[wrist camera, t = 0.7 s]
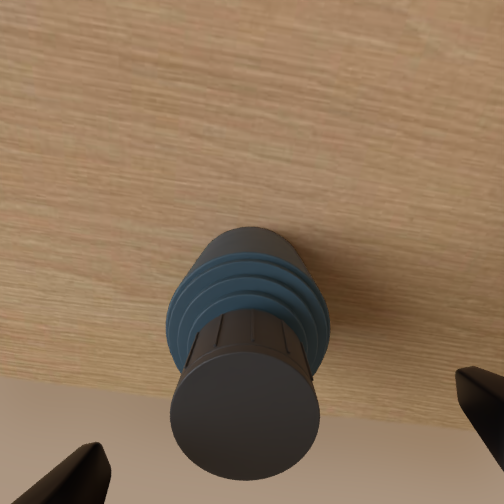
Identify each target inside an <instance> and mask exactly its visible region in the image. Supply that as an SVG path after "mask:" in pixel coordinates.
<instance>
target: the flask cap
mask: <svg viewBox="0 0 504 504" xmlns="http://www.w3.org/2000/svg"><path fill="white" fill-rule="evenodd" d="M312 381H313V376H312V373H311V370H310V366H309V363H308V360H307V356H306V353H305V350H304V347H303V343H302V342H300V341H299V339H298V337H297V335H296V334H295V333H294V331H293V330H292V329H291V328H290V327H289V326H288V325H287V324H286V323H285V322H284V321H283V320H281V319H279V318H277V317H275V316H273V315H271V314H269V313H266V312H262V311H257V310H254V309H252V310H236V311H231V312H228V313H225V314H220V316H218V317H216V318H214V319H213V320H211V321H210V322H209V323H207V324H206V325H205V326H204V327H203V328H202V329H201V330H200V332H197V334H196V336H195V339H194V342H193V344H192V347H191V349H190V352H189V355H188V357H187V360H186V363H185V365H184V368H183V371H182V374H181V376H180V379H179V382H178V384H177V387H176V390H175V392H174V395H173V399H172V402H171V408H170V422H171V428H172V431H173V435H174V437H175V439H176V442H177V444H178V445H179V447H180V448H181V450H182V451H183V453H184V454H185V455H186V456H187V457H188V458H189V459H190V460H191V461H192V462H193V463H195V464H196V465H197V466H199V467H200V468H202V469H203V470H205V471H207V472H209V473H211V474H214V475H217V476H219V477H223V478H227V479H232V480H243V481H249V480H259V479H265V478H268V477H272V476H275V475H277V474H279V473H282V472H284V471H286V470H287V469H289V468H291V467H292V466H293V465H295V464H296V463H297V462H299V461H300V460H301V459H302V458H303V457H304V455H305V454H306V453H307V452H308V451H309V449H310V448H311V446H312V444H313V442H314V440H315V438H316V435H317V432H318V428H319V422H320V409H319V404H318V400H317V396H316V393H315V389H314V386H313V382H312Z"/></svg>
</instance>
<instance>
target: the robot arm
mask: <svg viewBox="0 0 504 504" xmlns="http://www.w3.org/2000/svg"><path fill="white" fill-rule="evenodd" d="M455 379H456V388H457V397H458V402H459V404H460V407H461V409H462V410H463V412H464V413H465V415H466V416H467V418H468V419H469V421H470V422H471V424H472V425H473V427H474V428H475V430H476V431H477V433H478V434H479V436H480V437H481V439H482V440H483V442H484V443H485V445H486V446H487V448H488V449H489V451H490V452H491V454H492V455H493V457H494V458H495V460H496V461H497V463H498V464H499V466H500V467H501V469H502V470H503V471H504V377H503V376H500V375H497V374H495V373H492V372H489V371H486V370H484V369H481V368H478V367H475V366H470V367H465V368H461V369H458V370H456V372H455ZM110 479H111V466H110V464H109V461H108V459H107V456H106V454H105V451H104V449H103V447H102V445H101V444H100V443H99V442H94V443H89V444H84V445H82V446H81V447H79V448H78V449H77V450H76V451H75V452H73V453H72V454H71V455H70V456H68V457H67V458H66V459H65V460H64V461H62V462H61V463H60V464H59V465H57V466H56V467H55V468H54V469H53V470H52V471H50V472H49V473H48V474H47V475H45V476H44V477H43V478H42V479H41V480H39V481H38V482H37V483H36V484H34V485H33V486H32V487H31V488H30V489H28V490H27V491H26V492H25V493H24V494H22V495H21V496H20V497H19V498H17V499H16V500H15V501H14V502H13V503H11V504H104V502H105V498H106V494H107V490H108V487H109V483H110Z"/></svg>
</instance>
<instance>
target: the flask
mask: <svg viewBox="0 0 504 504" xmlns="http://www.w3.org/2000/svg"><path fill="white" fill-rule="evenodd" d="M252 309H254V310H257V311H262V312H266V313H269V314H271V315H273V316H275V317H277V318H279V319H281V320H283V321H284V322H285V323H286V324H287V325H288V326H289V327H290V328H291V329H292V330H293V331H294V333H295V334H296V335H297V337H298V339H299V341H300V342H302V343H303V347H304V350H305V353H306V356H307V360H308V363H309V366H310V370H311V373H312V376H313V375H314V374H315V373H316V371H317V369H318V368H319V366H320V364H321V362H322V360H323V358H324V355H325V353H326V350H327V347H328V343H329V338H330V318H329V312H328V308H327V305H326V302H325V300H324V298H323V296H322V294H321V292H320V290H319V288H318V287H317V285H316V283H315V282H314V280H313V278H312V277H311V275H310V273H309V272H308V270H307V268H306V267H305V265H304V263H303V262H302V260H301V258H300V257H299V255H298V253H297V252H296V250H295V249H294V248H293V246H292V245H291V244H290V243H289V242H288V241H286V240H285V239H284V238H283V237H281V236H280V235H278V234H276V233H274V232H272V231H270V230H266V229H263V228H258V227H241V228H236V229H233V230H230V231H227V232H225V233H223V234H221V235H219V236H218V237H217V238H215V239H214V240H213V241H212V242H211V243H209V244H208V246H207V247H206V248H205V249H204V251H203V252H202V254H201V255H200V256H199V258H198V259H197V261H196V262H195V264H194V265H193V266H192V268H191V269H190V271H189V272H188V274H187V275H186V276H185V278H184V279H183V281H182V282H181V284H180V285H179V286H178V288H177V290H176V291H175V293H174V295H173V297H172V299H171V302H170V304H169V308H168V312H167V317H166V337H167V343H168V346H169V349H170V353H171V355H172V357H173V360H174V362H175V364H176V366H177V368H178V369H179V371H180V373H181V374H182V371H183V368H184V365H185V363H186V360H187V357H188V355H189V352H190V349H191V347H192V344H193V342H194V339H195V336H196V334H197V332H200V330H201V329H202V328H203V327H204V326H205V325H206V324H207V323H209V322H210V321H211V320H213V319H214V318H216V317H218V316H220V314H225V313H228V312H231V311H236V310H252Z"/></svg>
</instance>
